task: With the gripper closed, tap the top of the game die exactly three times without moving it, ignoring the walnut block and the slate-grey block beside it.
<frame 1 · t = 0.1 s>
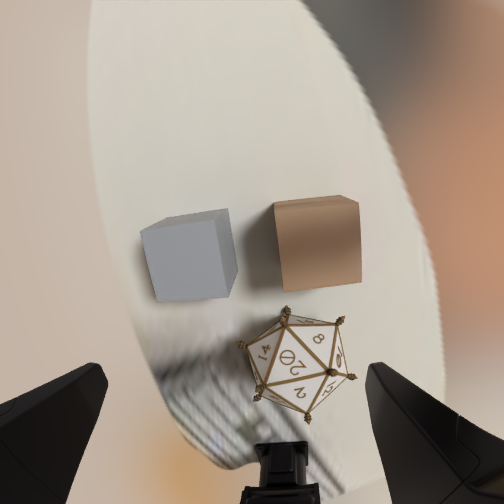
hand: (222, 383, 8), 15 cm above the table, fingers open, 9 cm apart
slate block: (202, 243, 22), on the table
walnut block: (310, 230, 21), on the table
game die: (294, 333, 24), on the table
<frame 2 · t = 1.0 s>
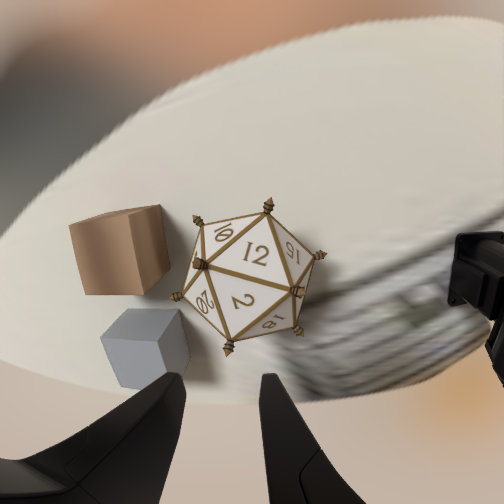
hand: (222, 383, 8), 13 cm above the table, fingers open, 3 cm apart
slate block: (159, 333, 23), on the table
walnut block: (137, 239, 21), on the table
game die: (253, 255, 21), on the table
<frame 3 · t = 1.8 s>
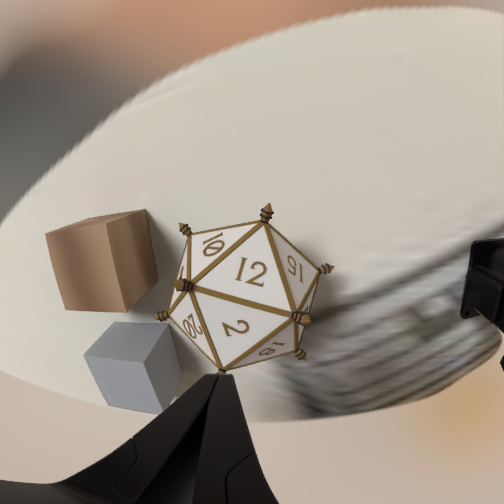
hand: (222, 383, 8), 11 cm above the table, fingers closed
slate block: (148, 348, 21), on the table
walnut block: (121, 248, 18), on the table
game die: (250, 266, 18), on the table
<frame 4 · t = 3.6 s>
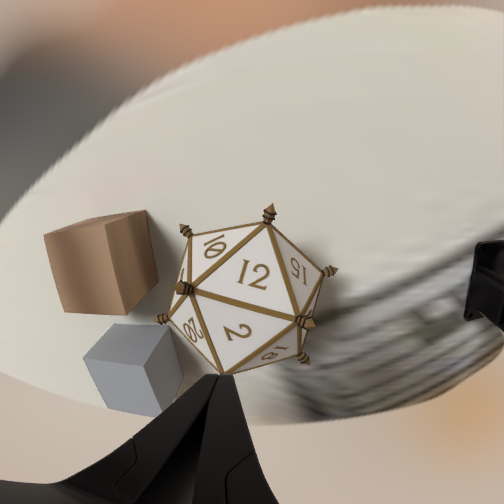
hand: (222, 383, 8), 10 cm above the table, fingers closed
slate block: (148, 350, 20), on the table
walnut block: (121, 249, 18), on the table
game die: (252, 268, 18), on the table
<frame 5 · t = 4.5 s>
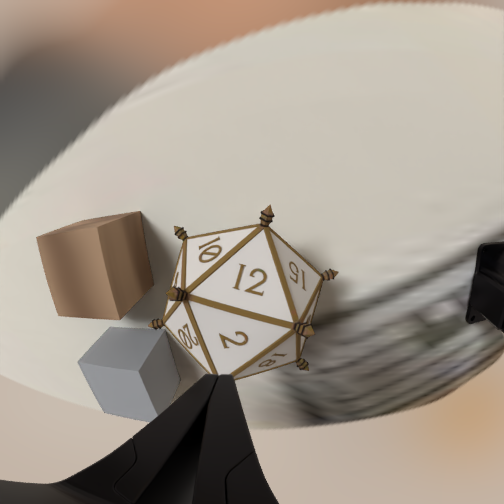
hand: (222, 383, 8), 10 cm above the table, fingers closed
slate block: (144, 354, 20), on the table
walnut block: (116, 251, 18), on the table
game die: (249, 271, 17), on the table
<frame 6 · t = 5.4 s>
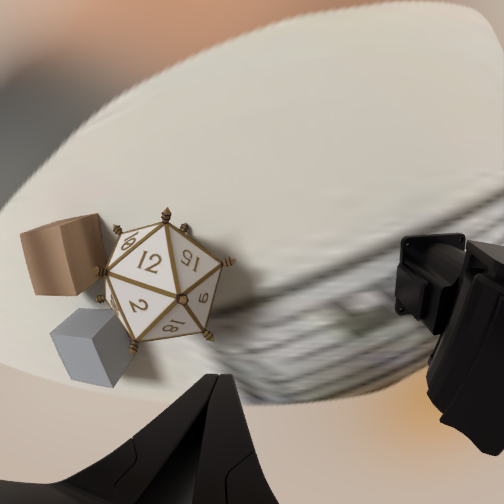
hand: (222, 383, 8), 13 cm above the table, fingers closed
slate block: (106, 331, 23), on the table
walnut block: (81, 245, 21), on the table
game die: (179, 260, 21), on the table
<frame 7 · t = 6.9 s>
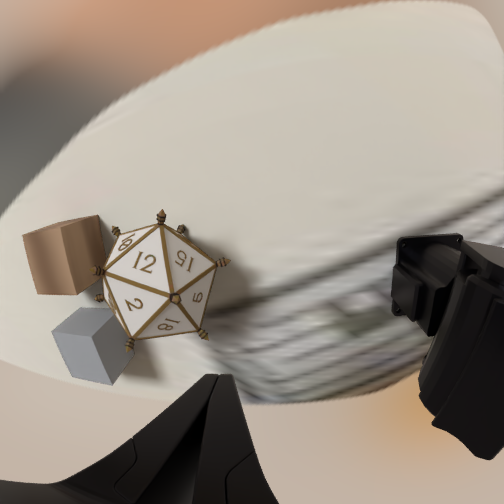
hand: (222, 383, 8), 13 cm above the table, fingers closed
slate block: (106, 330, 24), on the table
walnut block: (82, 246, 21), on the table
game die: (176, 261, 21), on the table
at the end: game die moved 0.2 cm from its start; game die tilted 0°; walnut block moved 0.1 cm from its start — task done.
